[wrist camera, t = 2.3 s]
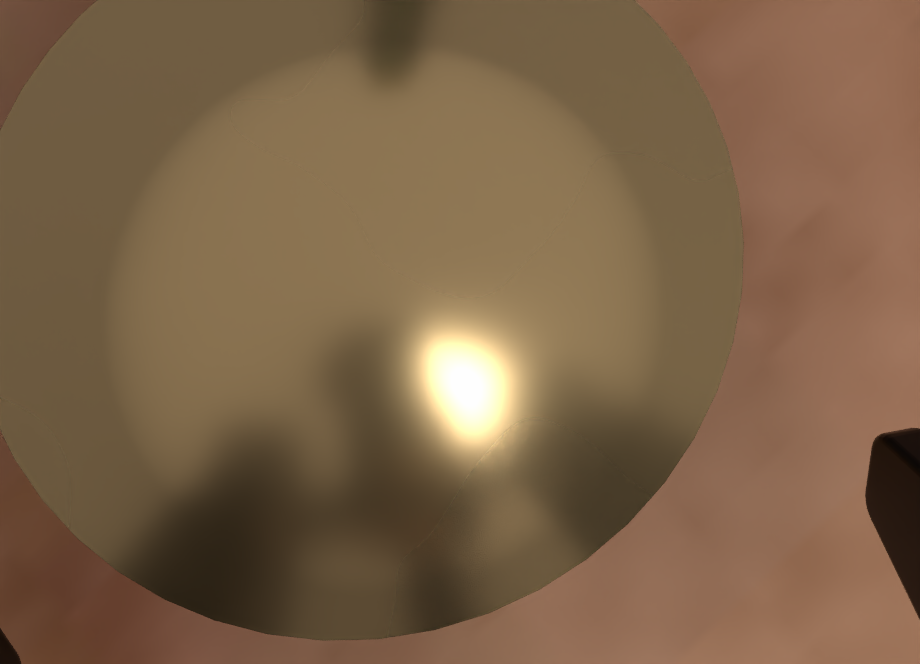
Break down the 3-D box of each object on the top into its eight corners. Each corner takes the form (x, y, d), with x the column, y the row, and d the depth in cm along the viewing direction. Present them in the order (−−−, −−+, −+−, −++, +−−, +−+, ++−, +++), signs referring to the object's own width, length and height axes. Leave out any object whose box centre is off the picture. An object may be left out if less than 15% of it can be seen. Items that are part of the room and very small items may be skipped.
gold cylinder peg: (581, 547, 18) (809, 598, 5) (330, 570, 18) (-48, 678, 5) (552, 304, 19) (681, -140, 6) (316, 327, 19) (-22, -67, 6)
